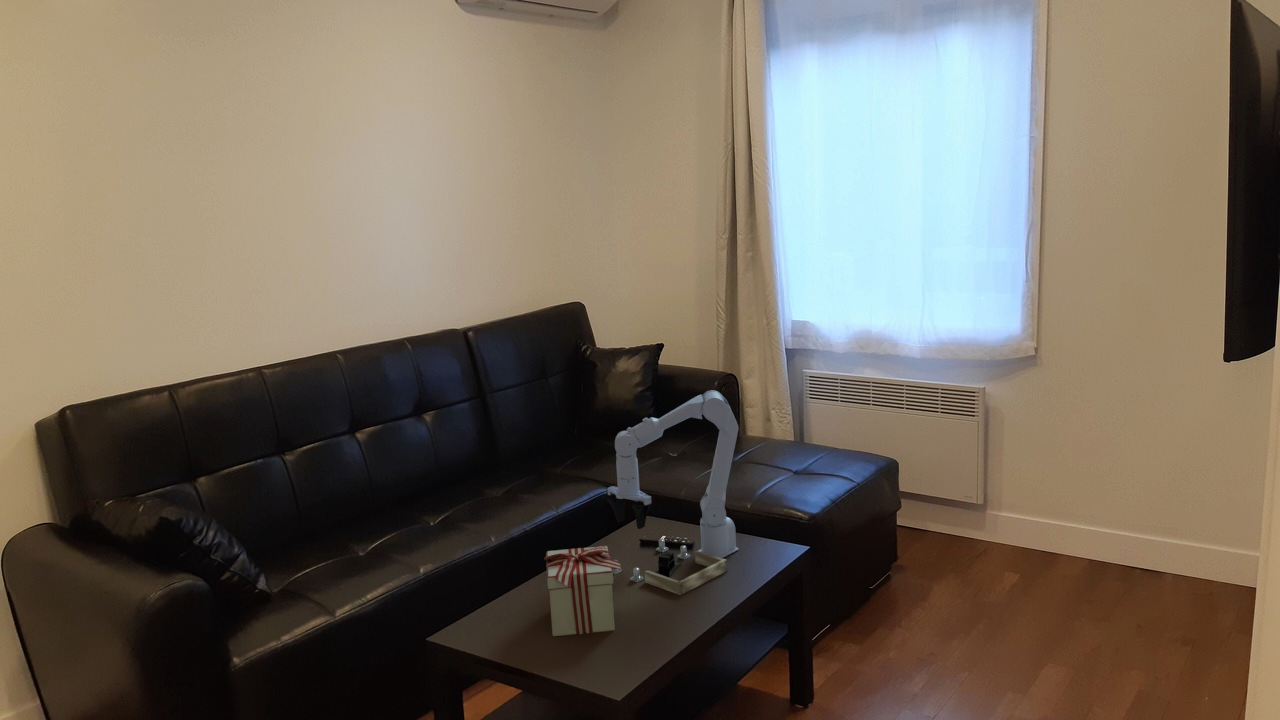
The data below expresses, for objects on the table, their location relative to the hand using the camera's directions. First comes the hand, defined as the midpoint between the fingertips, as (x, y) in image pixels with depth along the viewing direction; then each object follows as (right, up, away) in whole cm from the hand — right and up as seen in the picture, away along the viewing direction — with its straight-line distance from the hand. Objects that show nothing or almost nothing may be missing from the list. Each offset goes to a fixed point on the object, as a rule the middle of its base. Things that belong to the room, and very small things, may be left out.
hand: (630, 524), depth 254 cm
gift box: (-10, -17, -34) cm, 39 cm away
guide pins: (+5, -10, -3) cm, 12 cm away
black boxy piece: (+10, -11, -7) cm, 16 cm away
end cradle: (+14, -11, -12) cm, 22 cm away
